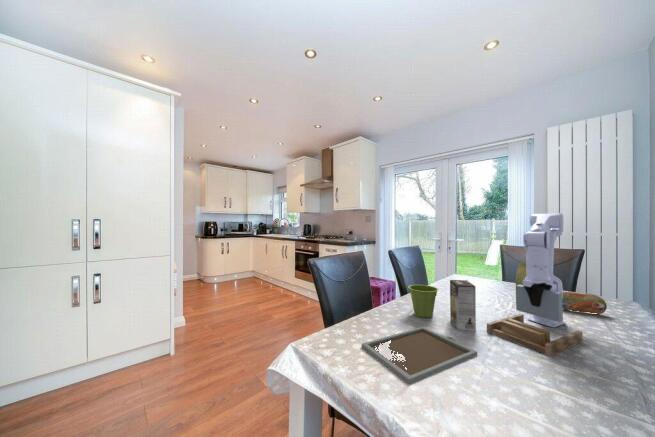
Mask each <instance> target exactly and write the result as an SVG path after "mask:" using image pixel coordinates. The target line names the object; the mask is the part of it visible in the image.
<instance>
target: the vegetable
mask: <svg viewBox="0 0 655 437" xmlns="http://www.w3.org/2000/svg"><path fill="white" fill-rule="evenodd" d="M515 274H516V275H515V286H516V285H523V280H525V278H526V277H527V276H526V261H520V262H519V264H518V266H517V268H516V273H515Z"/></svg>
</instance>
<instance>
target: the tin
mask: <svg viewBox="0 0 655 437" xmlns="http://www.w3.org/2000/svg"><path fill="white" fill-rule="evenodd" d="M562 306H563V310H564V311H566V310H572V311H579V312H590V313H597V314H599V315H601V314H603V313H605V312H606V311H607V309H608V308H607V307H608V305H607V303H606V301H605V300H604V299H603V298H602V297H600V296H598V295H596V294H593V293H592V294H591V293H585V292H584V293H582V292H573V291H572V292H571V291H563V299H562Z"/></svg>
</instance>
